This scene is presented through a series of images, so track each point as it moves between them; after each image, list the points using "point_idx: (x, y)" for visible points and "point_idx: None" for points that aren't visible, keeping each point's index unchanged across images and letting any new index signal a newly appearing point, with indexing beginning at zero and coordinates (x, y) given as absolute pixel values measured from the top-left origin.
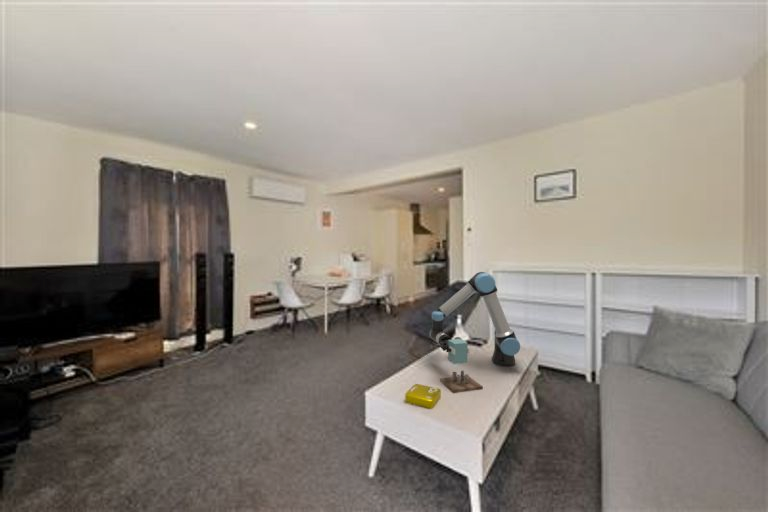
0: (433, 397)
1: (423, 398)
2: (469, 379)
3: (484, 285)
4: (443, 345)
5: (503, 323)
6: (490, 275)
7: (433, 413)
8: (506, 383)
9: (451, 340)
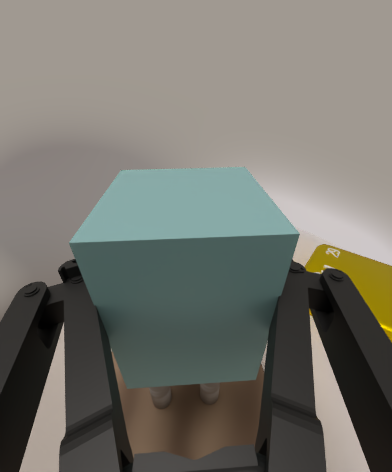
0: (318, 252)
1: (347, 251)
2: (121, 395)
3: None
4: (349, 301)
5: None
6: None
7: (310, 245)
8: None
9: (251, 215)
